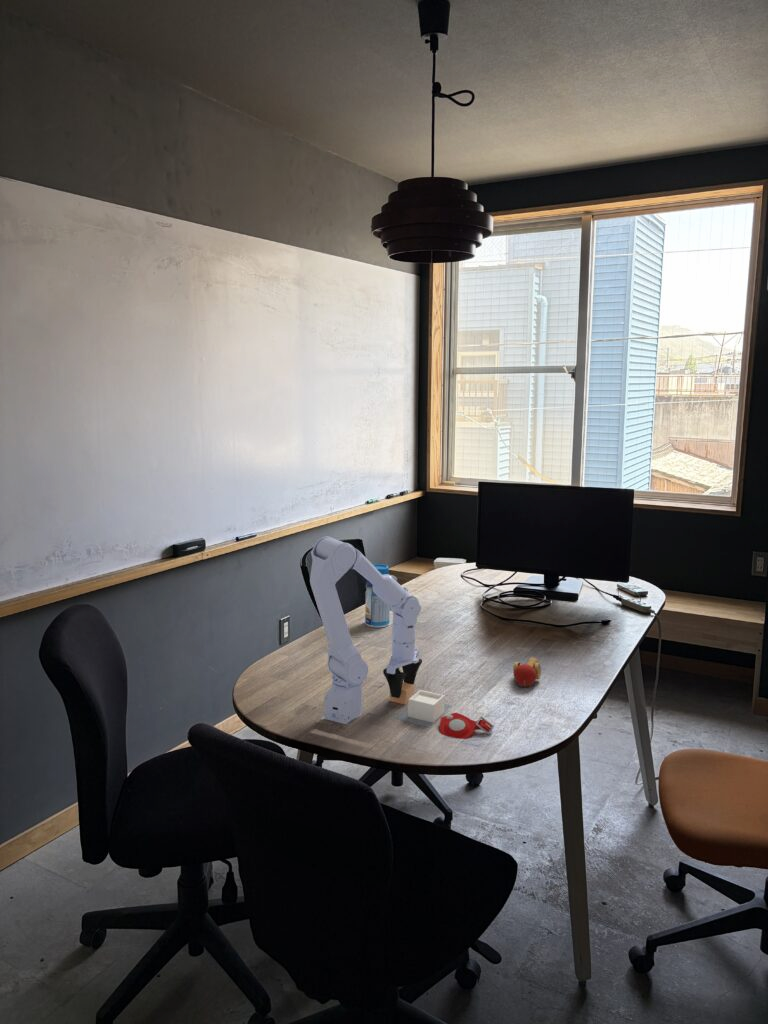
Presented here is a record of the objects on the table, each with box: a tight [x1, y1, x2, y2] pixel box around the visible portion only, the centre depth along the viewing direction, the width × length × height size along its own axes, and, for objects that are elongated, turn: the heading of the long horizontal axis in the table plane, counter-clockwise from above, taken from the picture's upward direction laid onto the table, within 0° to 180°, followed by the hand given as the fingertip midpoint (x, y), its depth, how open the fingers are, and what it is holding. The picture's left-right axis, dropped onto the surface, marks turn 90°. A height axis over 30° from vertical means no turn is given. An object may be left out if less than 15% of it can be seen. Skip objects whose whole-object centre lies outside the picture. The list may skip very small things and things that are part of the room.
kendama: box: [512, 656, 542, 688], centre depth 211 cm, size 8×6×18 cm
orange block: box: [389, 681, 415, 706], centre depth 192 cm, size 5×5×4 cm
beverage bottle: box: [364, 563, 391, 629], centre depth 253 cm, size 8×8×20 cm
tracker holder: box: [439, 712, 495, 740], centre depth 176 cm, size 12×4×10 cm
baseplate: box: [394, 703, 452, 728], centre depth 185 cm, size 14×9×1 cm, turn 153°
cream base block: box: [407, 689, 446, 722], centre depth 183 cm, size 7×7×4 cm
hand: (402, 691), depth 192 cm, fingers open, 7 cm apart
